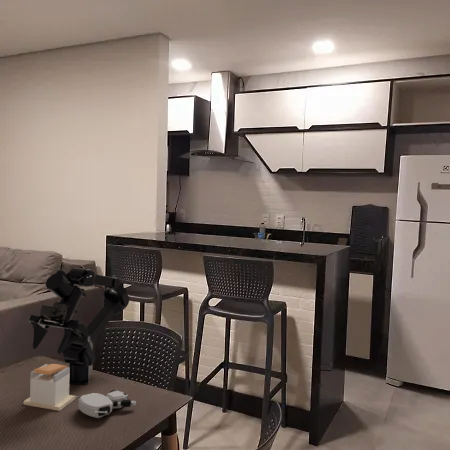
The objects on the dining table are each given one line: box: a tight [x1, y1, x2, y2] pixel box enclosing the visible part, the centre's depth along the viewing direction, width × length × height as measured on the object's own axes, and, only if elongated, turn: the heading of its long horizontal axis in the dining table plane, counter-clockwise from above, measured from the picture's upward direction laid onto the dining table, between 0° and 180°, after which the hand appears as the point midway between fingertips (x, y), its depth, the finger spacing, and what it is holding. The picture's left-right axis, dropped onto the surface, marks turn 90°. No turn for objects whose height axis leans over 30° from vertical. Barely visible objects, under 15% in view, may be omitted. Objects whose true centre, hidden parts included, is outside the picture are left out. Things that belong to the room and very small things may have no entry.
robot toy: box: [73, 389, 137, 419], centre depth 128 cm, size 12×4×15 cm
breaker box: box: [23, 363, 76, 412], centre depth 132 cm, size 8×12×10 cm, turn 76°
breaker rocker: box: [33, 363, 68, 375], centre depth 131 cm, size 9×5×2 cm, turn 167°
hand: (45, 351), depth 132 cm, fingers open, 9 cm apart
